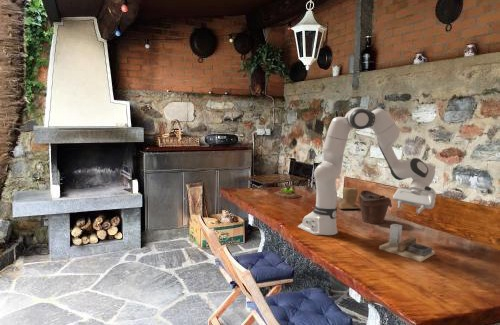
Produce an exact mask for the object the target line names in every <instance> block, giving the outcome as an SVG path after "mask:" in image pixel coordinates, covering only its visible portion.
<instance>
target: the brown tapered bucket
mask: <svg viewBox="0 0 500 325" xmlns="http://www.w3.org/2000/svg"><path fill="white" fill-rule="evenodd" d="M358 195H359V196H358V197H357V201H358V203H359V207H360V208H359V209H360V214H361V220H362V221H363V222H365V223H368V224H372V225H373V224H374V225H375V224H376V225H377V224H378V225H381V224H383V223H384V221H385V217H386V215H387V212H388V208H392V207H393V205H392V204H393V203H392V200H391V198H390V197H386V196H385V195H381V194H378V193H375V192H374V191H373V192H372V191H370V190H362V191H360V193H359V194H358Z"/></svg>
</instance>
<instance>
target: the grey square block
mask: <svg viewBox="0 0 500 325" xmlns="http://www.w3.org/2000/svg"><path fill="white" fill-rule="evenodd" d="M389 227H390V228H389V229H390V230H389V238H388V239H389V240H388V242H389V245H392V246H395V247H398V243H400V242H402V233H403V232H402V231H403V225H401V224H397V223H392V224H390V226H389Z"/></svg>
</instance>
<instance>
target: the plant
mask: <svg viewBox="0 0 500 325" xmlns="http://www.w3.org/2000/svg"><path fill="white" fill-rule="evenodd" d="M284 185H286V187H283V188H281V190H279V191H275V192H273V196H276V197H277V198H281V199H287V200H293V199H296V198H302V197H301V196H302V193H300V192H297V191H295V190H294V189H293V187H294V185H293V184H291V185H289V184H288V182H287V181H285V182H284Z"/></svg>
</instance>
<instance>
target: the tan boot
mask: <svg viewBox="0 0 500 325" xmlns="http://www.w3.org/2000/svg"><path fill="white" fill-rule="evenodd" d="M358 193H359V192H358V189H357V188H354V187H343V188H342V198H343V202H342V203H339V204H338V205H337V207H338V208H339V209H340V210H354V209H357V210H358V209H361V208H360V205H357V204H356V202H357V200H358V195H359V194H358Z"/></svg>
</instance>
